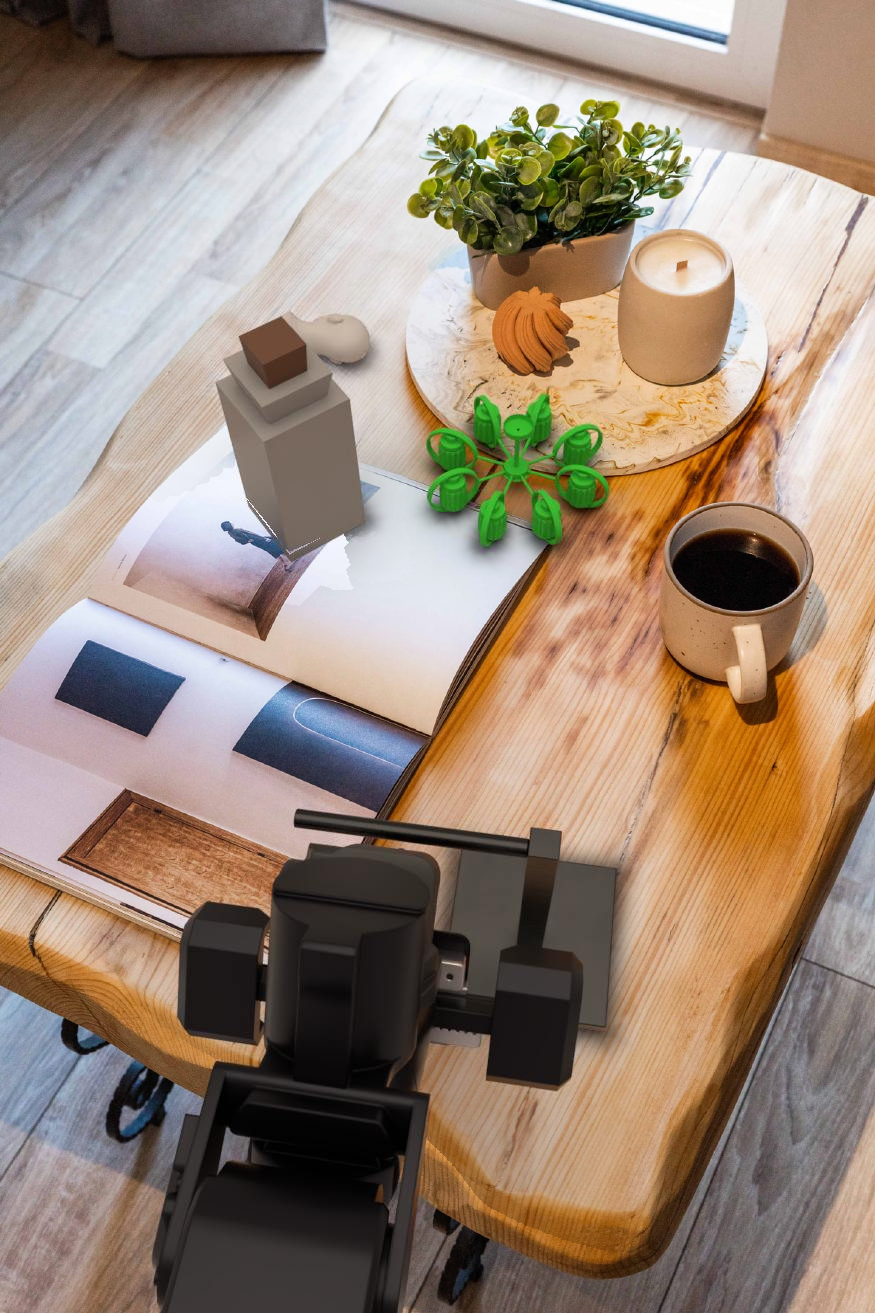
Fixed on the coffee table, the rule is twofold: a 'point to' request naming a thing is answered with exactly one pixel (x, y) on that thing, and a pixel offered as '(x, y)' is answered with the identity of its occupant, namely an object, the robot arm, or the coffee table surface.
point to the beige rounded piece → (333, 336)
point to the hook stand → (512, 898)
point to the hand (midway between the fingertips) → (404, 915)
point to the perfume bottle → (292, 439)
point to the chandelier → (516, 468)
